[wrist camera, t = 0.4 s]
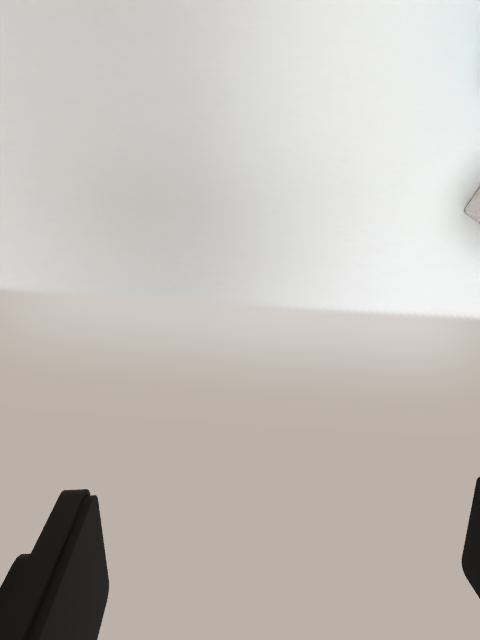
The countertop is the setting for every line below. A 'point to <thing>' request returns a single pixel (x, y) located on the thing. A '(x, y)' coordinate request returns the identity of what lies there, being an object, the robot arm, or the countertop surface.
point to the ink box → (474, 207)
